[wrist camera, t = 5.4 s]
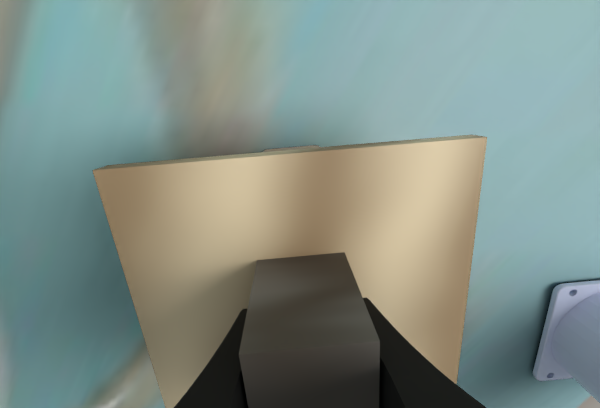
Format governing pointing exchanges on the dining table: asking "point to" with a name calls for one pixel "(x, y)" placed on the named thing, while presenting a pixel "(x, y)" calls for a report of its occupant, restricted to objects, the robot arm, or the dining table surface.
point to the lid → (299, 261)
